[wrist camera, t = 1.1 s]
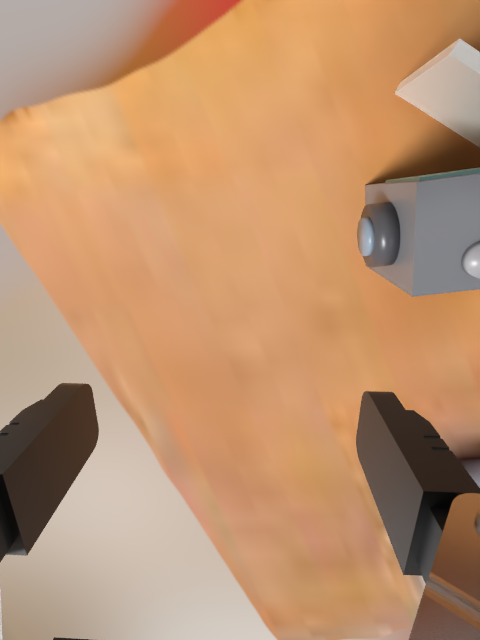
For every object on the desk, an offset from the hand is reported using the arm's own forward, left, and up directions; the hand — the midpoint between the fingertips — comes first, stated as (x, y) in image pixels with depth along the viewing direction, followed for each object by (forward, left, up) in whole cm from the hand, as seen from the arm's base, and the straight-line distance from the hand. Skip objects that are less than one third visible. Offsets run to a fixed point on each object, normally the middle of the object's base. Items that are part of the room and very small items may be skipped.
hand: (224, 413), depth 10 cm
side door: (-14, -14, -23) cm, 30 cm away
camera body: (-14, -6, -23) cm, 28 cm away
